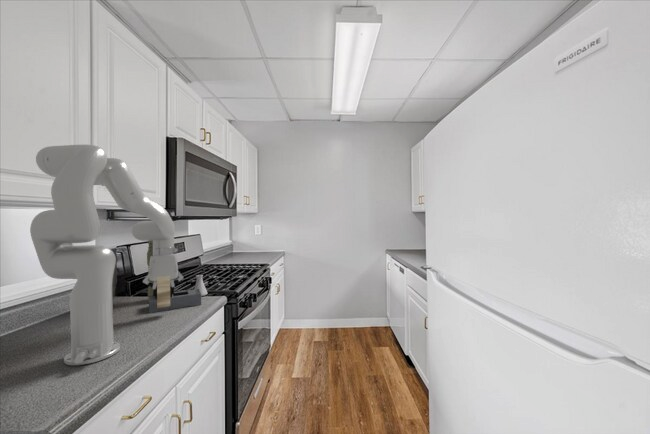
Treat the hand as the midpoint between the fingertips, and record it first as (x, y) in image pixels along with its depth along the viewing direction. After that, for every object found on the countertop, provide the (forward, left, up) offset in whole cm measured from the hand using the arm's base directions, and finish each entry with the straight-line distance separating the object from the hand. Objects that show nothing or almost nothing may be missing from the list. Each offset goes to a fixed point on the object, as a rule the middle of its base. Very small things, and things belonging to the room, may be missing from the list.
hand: (163, 297), depth 116 cm
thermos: (+28, +3, -8) cm, 29 cm away
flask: (+26, -15, -8) cm, 31 cm away
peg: (0, 0, -3) cm, 3 cm away
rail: (+13, -4, -7) cm, 15 cm away
